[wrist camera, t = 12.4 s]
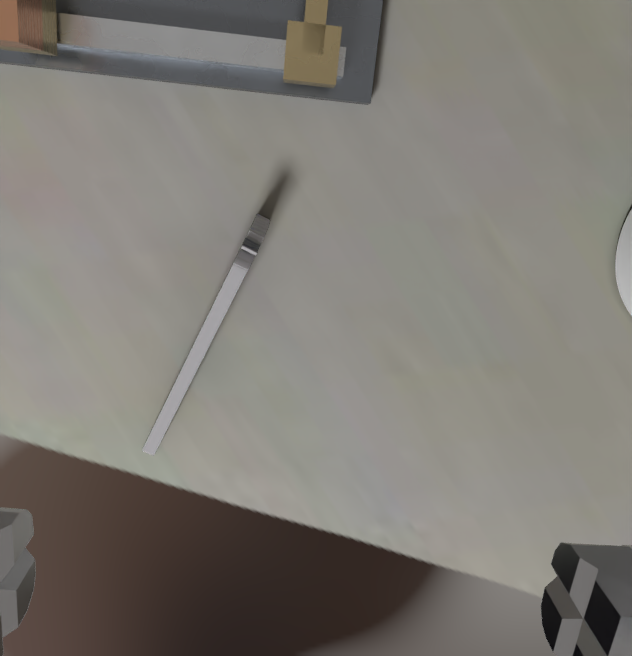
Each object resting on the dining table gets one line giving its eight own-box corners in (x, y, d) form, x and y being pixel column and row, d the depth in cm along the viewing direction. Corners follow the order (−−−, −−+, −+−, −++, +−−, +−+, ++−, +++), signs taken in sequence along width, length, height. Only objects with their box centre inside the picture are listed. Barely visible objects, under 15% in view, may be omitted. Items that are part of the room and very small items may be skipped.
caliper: (257, 211, 40) (250, 223, 34) (271, 219, 41) (267, 232, 35) (142, 447, 45) (120, 493, 39) (156, 453, 46) (135, 500, 40)
